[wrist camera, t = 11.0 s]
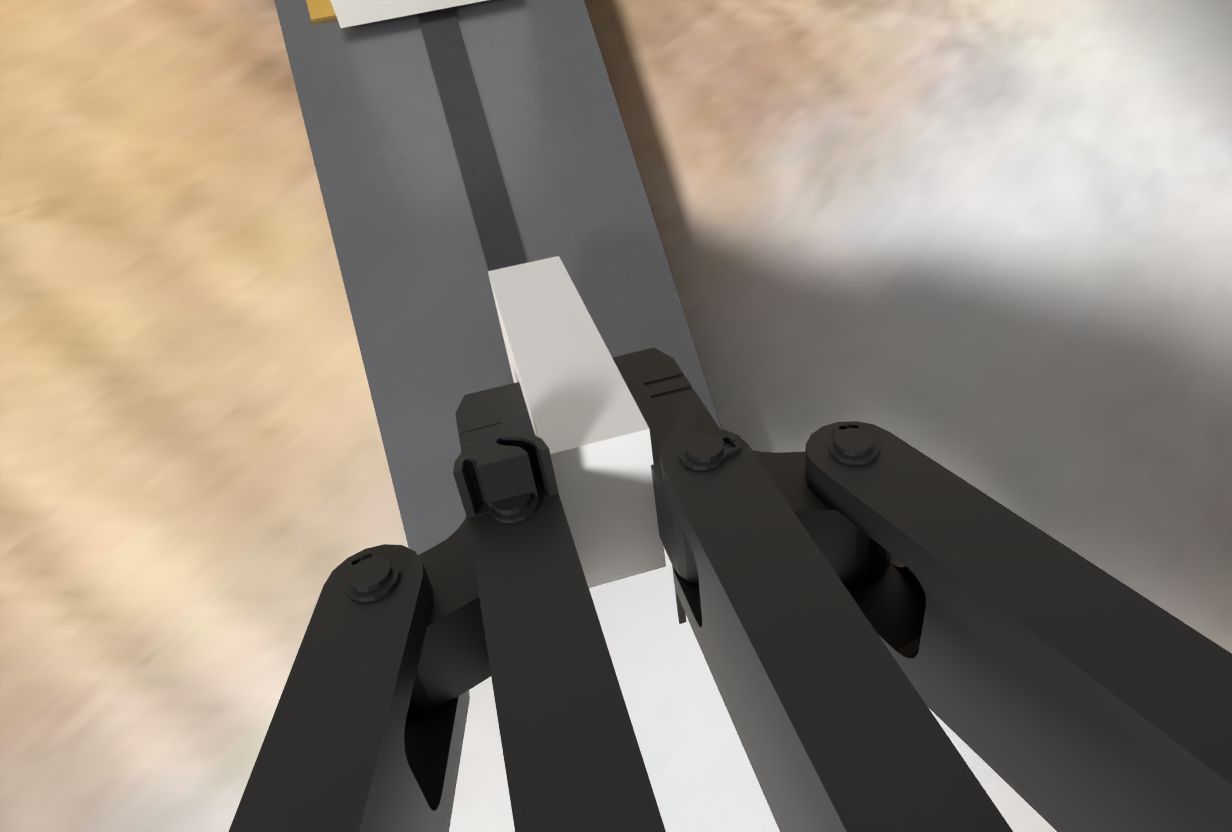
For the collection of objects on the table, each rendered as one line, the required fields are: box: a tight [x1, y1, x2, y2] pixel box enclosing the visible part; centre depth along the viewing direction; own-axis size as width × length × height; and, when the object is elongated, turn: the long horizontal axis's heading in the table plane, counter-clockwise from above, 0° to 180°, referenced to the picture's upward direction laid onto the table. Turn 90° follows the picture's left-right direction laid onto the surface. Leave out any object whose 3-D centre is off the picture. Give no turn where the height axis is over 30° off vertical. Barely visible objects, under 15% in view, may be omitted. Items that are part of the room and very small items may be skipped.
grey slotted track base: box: [275, 0, 722, 555], centre depth 21 cm, size 22×8×2 cm, turn 17°
